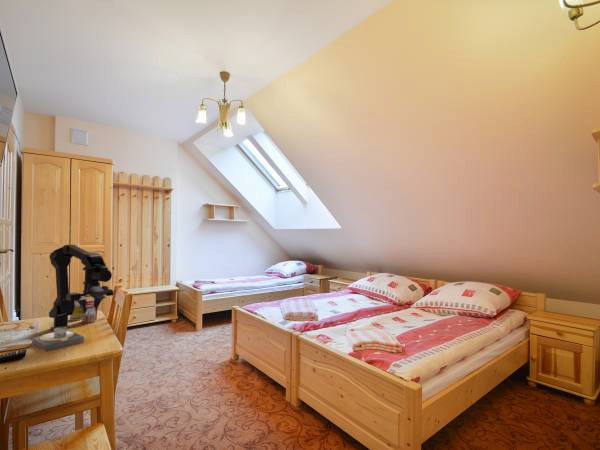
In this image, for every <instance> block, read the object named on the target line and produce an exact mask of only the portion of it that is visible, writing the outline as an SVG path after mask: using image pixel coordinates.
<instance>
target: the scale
mask: <svg viewBox="0 0 600 450" xmlns="http://www.w3.org/2000/svg"><path fill="white" fill-rule="evenodd" d="M84 339H85V337H84V335H82V334H79V333H77V332H75V331H72V330H68V329H67V333H66V337H64V338H59V339H55V338H54V331H53V332H49V333H45V334H43V335H39V336H35V337H32V339H31V344H32V345H33V346H35V347H37V348H38V349H40V350H42V351H43V352H49V351H50V352H51V351H53V350H57V349H62V348H66V347H69V346H74V345H78V344H82V343H84V341H85V340H84Z"/></svg>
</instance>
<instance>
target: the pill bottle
mask: <svg viewBox="0 0 600 450" xmlns="http://www.w3.org/2000/svg"><path fill="white" fill-rule="evenodd" d="M74 303H75V308H74V312H73V315H69V320H70V321H79V320H81V321H82V309H81V307H80V305H79V303H78V301H74Z"/></svg>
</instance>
